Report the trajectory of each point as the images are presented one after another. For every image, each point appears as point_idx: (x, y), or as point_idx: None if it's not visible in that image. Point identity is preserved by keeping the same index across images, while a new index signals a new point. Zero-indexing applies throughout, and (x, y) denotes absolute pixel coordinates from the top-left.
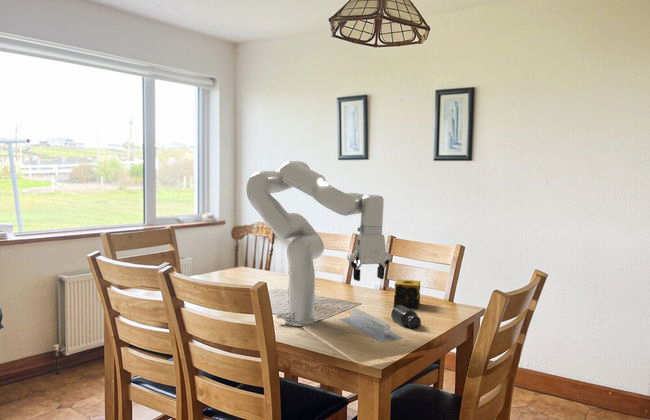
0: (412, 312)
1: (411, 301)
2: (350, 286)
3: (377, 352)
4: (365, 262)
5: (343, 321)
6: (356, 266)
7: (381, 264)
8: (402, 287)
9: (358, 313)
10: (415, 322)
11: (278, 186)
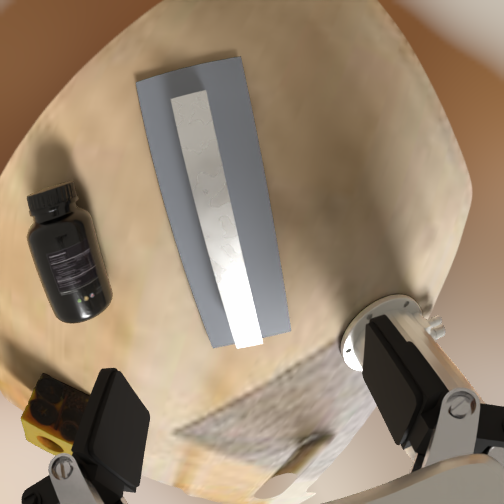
0: (36, 230)
1: (51, 393)
2: (177, 485)
3: (277, 10)
4: (447, 487)
5: (287, 306)
6: (475, 415)
7: (94, 495)
8: (63, 432)
9: (251, 295)
10: (48, 188)
11: None
